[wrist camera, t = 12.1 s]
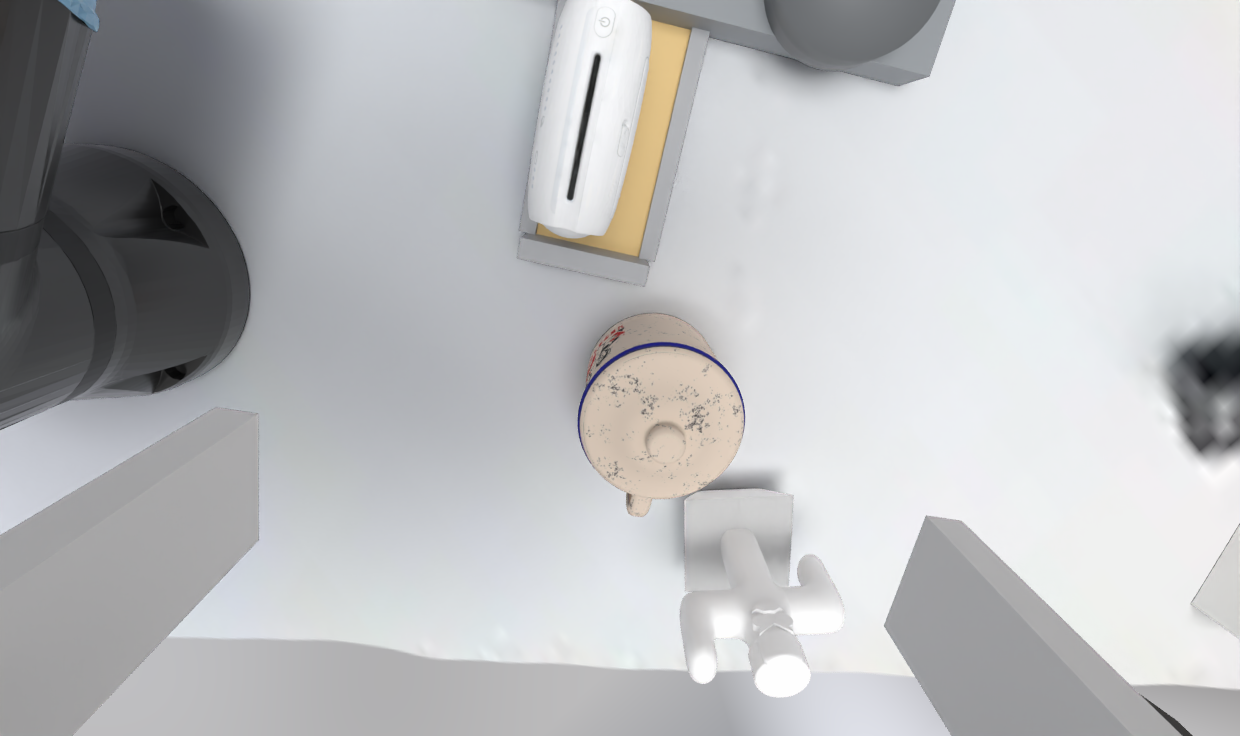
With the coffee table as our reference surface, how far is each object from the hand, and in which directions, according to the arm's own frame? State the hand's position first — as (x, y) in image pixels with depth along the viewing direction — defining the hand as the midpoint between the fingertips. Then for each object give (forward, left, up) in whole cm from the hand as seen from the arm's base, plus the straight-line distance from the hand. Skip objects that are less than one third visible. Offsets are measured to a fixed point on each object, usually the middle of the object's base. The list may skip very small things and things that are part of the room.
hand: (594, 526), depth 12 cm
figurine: (+12, -15, -28) cm, 34 cm away
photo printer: (-2, +8, -28) cm, 29 cm away
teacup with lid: (+4, -7, -28) cm, 29 cm away
